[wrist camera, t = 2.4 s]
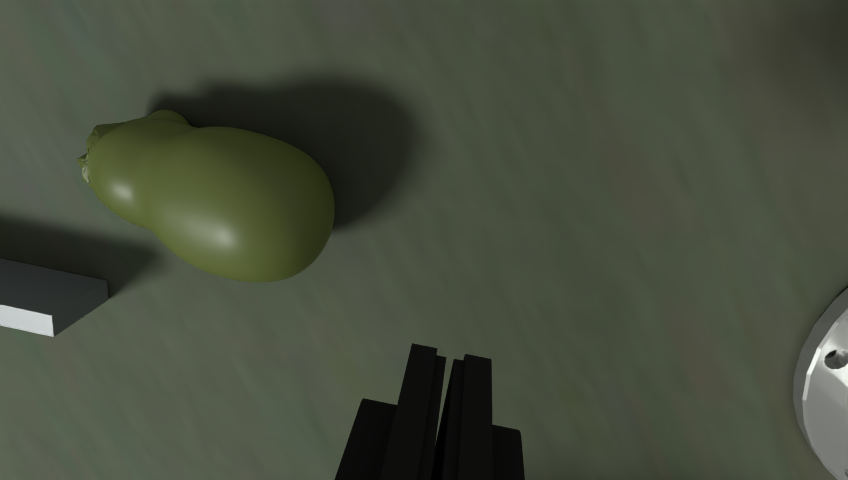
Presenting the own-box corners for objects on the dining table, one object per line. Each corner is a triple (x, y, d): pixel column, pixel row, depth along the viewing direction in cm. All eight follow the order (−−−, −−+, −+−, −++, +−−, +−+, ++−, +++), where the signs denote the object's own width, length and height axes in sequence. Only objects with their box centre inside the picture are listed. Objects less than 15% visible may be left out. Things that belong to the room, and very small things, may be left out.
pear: (277, 328, 20) (43, 234, 21) (341, 274, 24) (146, 201, 26) (302, 175, 18) (42, 87, 19) (367, 149, 22) (154, 80, 24)
